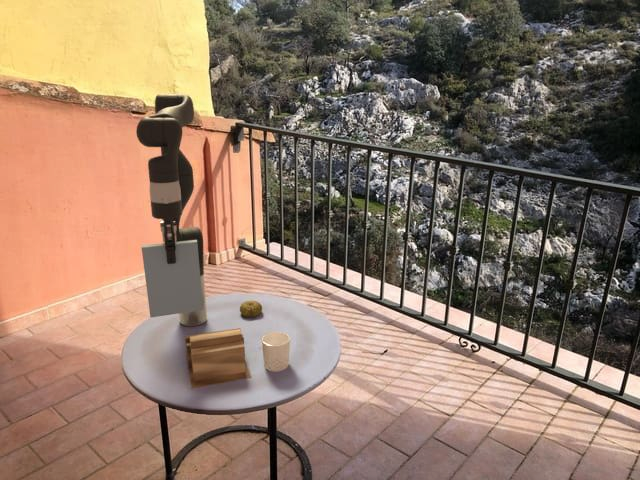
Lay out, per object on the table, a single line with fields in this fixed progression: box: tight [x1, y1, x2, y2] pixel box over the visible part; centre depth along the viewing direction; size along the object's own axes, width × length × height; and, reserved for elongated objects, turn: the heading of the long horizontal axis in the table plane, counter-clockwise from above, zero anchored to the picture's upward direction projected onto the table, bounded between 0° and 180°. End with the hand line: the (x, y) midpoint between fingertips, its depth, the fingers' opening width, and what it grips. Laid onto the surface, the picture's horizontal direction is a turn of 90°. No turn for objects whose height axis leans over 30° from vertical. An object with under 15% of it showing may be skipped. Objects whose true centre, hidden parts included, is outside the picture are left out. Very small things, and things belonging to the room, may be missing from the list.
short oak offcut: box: [191, 341, 246, 381], centre depth 132 cm, size 3×14×8 cm, turn 109°
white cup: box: [261, 331, 291, 373], centre depth 136 cm, size 8×8×10 cm
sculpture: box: [239, 300, 263, 318], centre depth 171 cm, size 8×4×8 cm
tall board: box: [141, 240, 203, 319], centre depth 129 cm, size 2×14×20 cm, turn 109°
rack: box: [184, 327, 252, 389], centre depth 135 cm, size 16×16×8 cm
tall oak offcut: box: [190, 328, 243, 370], centre depth 135 cm, size 3×14×10 cm, turn 109°
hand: (171, 261), depth 127 cm, fingers closed on tall board, 2 cm apart
